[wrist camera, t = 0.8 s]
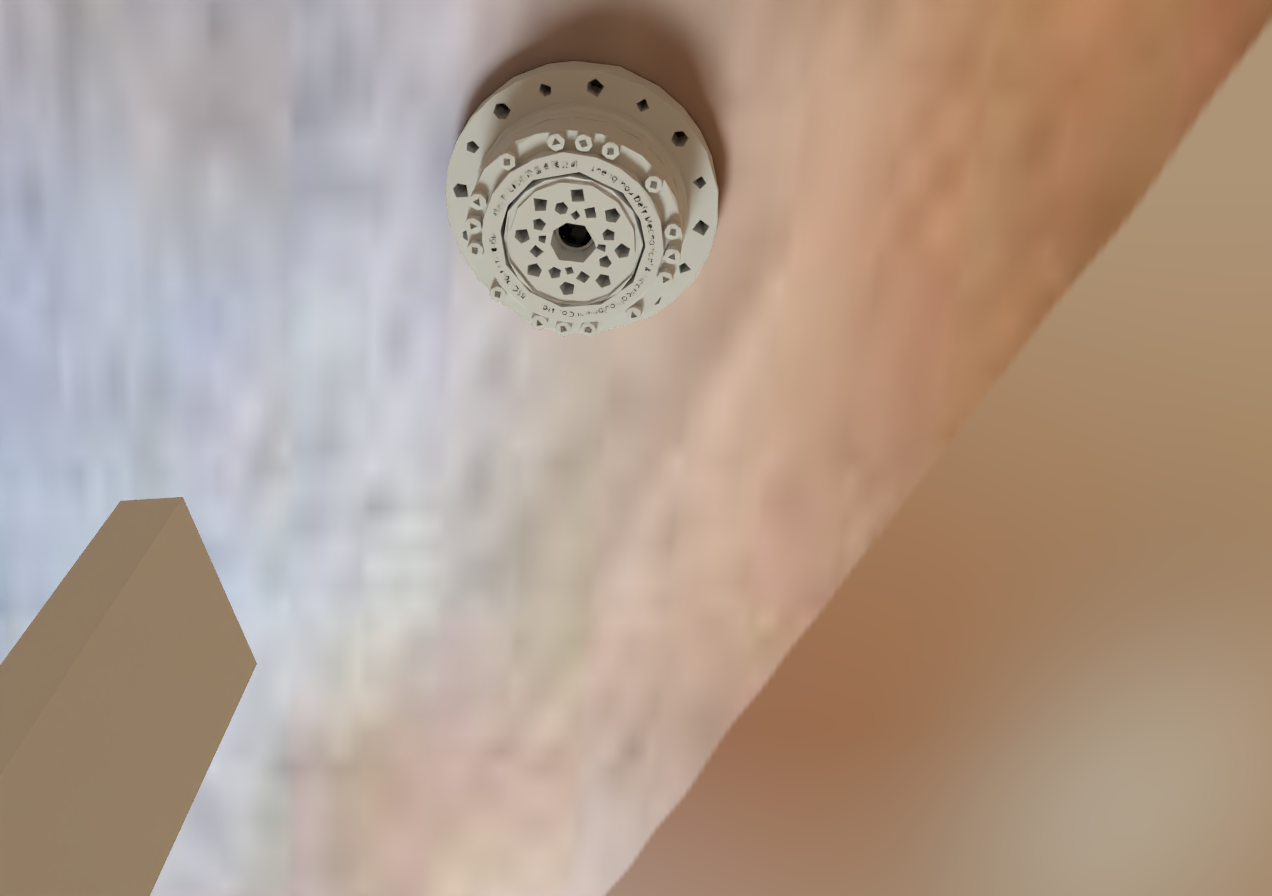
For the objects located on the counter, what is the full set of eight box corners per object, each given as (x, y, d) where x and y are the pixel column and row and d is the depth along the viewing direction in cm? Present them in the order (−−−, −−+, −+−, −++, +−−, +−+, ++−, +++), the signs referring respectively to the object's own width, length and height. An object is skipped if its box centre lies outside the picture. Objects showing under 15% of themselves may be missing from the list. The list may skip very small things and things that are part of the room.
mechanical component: (741, 81, 37) (458, 36, 36) (745, 121, 33) (430, 72, 33) (694, 330, 42) (448, 293, 42) (692, 387, 39) (423, 347, 38)
